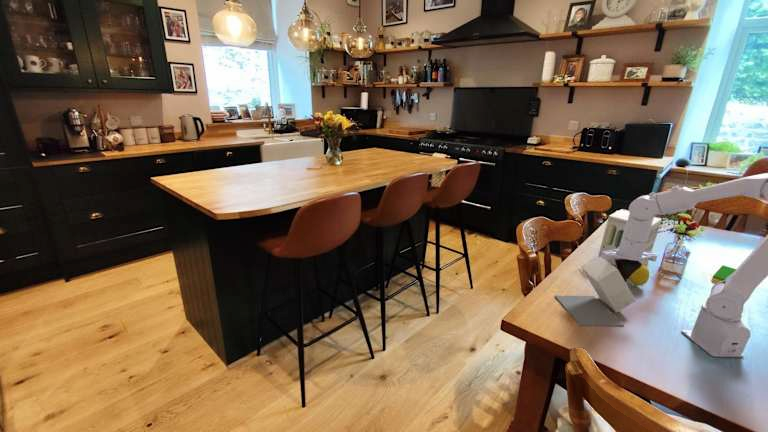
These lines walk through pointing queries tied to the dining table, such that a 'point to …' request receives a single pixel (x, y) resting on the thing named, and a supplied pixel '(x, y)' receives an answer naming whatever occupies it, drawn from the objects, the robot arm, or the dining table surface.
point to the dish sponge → (722, 274)
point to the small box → (608, 284)
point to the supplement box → (616, 231)
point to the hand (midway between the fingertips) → (620, 281)
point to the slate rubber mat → (588, 311)
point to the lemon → (640, 276)
